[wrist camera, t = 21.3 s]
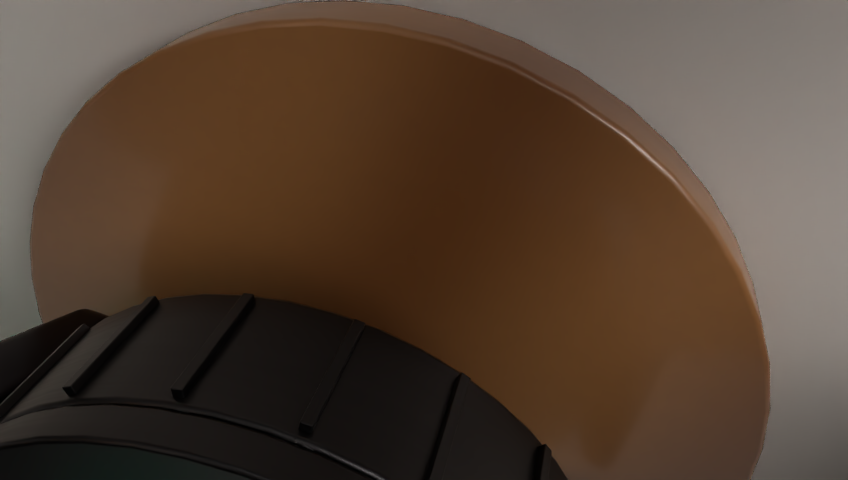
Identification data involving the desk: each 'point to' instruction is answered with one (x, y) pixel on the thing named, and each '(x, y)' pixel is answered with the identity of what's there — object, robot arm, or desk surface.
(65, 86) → the desk surface
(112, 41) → the desk surface
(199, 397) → the lid
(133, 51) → the desk surface
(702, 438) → the coaster
